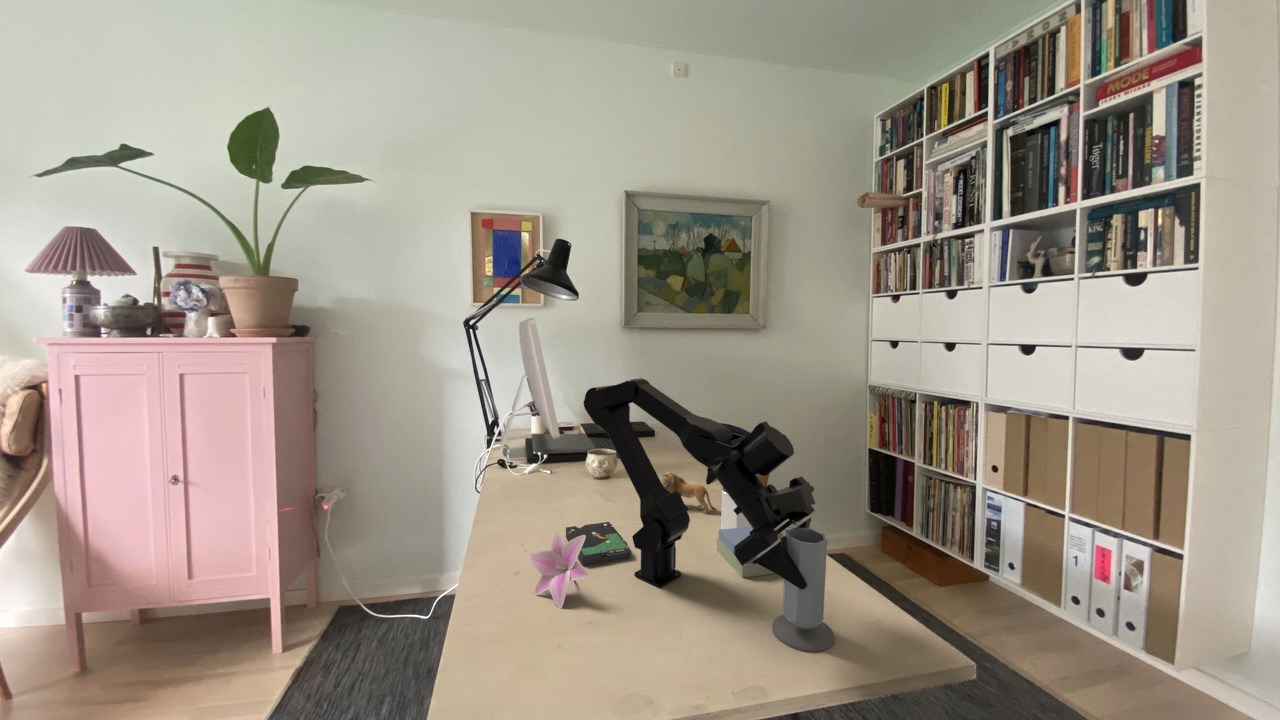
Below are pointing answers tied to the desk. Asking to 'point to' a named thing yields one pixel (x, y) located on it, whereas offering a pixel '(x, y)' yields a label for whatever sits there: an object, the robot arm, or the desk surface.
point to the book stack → (726, 549)
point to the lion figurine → (686, 489)
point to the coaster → (803, 636)
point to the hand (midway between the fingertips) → (812, 579)
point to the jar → (731, 514)
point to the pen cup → (806, 578)
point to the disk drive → (599, 543)
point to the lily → (558, 567)
